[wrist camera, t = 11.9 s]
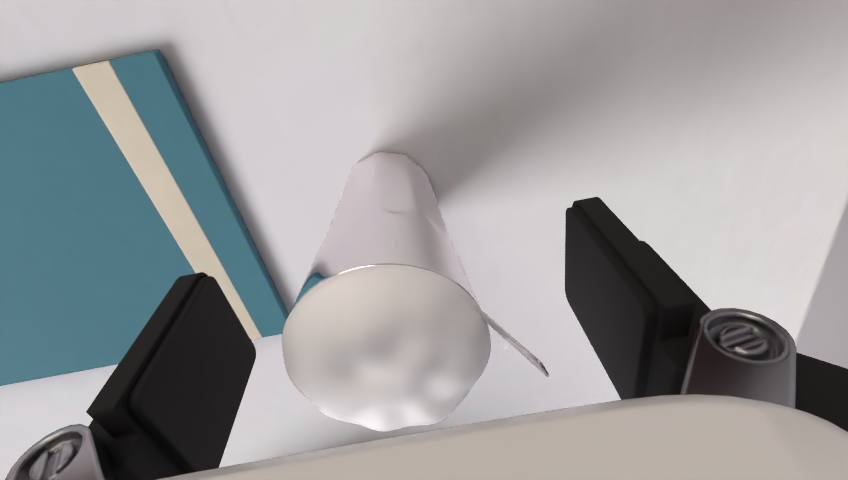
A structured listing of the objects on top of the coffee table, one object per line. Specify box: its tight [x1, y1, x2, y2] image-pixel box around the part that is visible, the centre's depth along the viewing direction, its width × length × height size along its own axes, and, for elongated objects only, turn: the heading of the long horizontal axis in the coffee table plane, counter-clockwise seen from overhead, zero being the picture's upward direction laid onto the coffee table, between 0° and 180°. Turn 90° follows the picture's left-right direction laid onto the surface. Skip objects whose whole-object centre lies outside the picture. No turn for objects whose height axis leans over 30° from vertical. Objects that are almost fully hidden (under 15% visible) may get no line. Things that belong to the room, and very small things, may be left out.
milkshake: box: [282, 152, 549, 431], centre depth 12 cm, size 5×5×10 cm
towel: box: [0, 50, 289, 386], centre depth 16 cm, size 18×12×1 cm, turn 100°
